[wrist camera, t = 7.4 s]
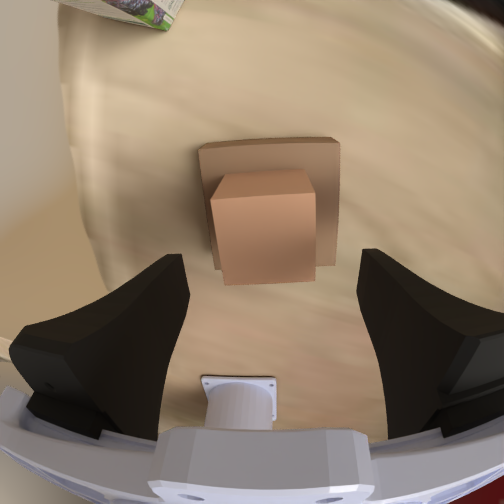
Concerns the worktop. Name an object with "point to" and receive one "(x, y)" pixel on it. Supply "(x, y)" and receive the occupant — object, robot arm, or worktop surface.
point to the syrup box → (132, 10)
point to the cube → (266, 227)
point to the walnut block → (280, 158)
